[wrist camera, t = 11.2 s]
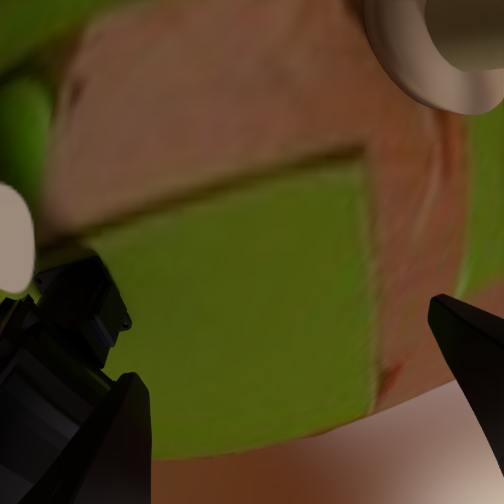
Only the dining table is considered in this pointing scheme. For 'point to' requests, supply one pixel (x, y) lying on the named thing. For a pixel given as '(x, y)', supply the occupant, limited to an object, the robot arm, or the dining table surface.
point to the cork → (467, 32)
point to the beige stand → (426, 61)
